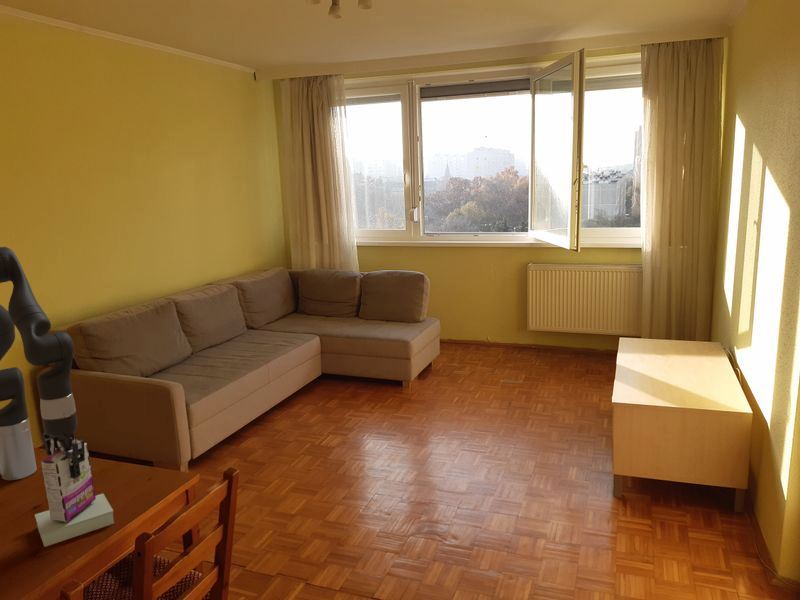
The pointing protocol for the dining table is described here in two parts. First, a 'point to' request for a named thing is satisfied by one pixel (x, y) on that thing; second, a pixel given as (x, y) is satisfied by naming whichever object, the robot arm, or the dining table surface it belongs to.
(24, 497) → the dining table surface
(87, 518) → the keepsake box
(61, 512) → the candy bar box
